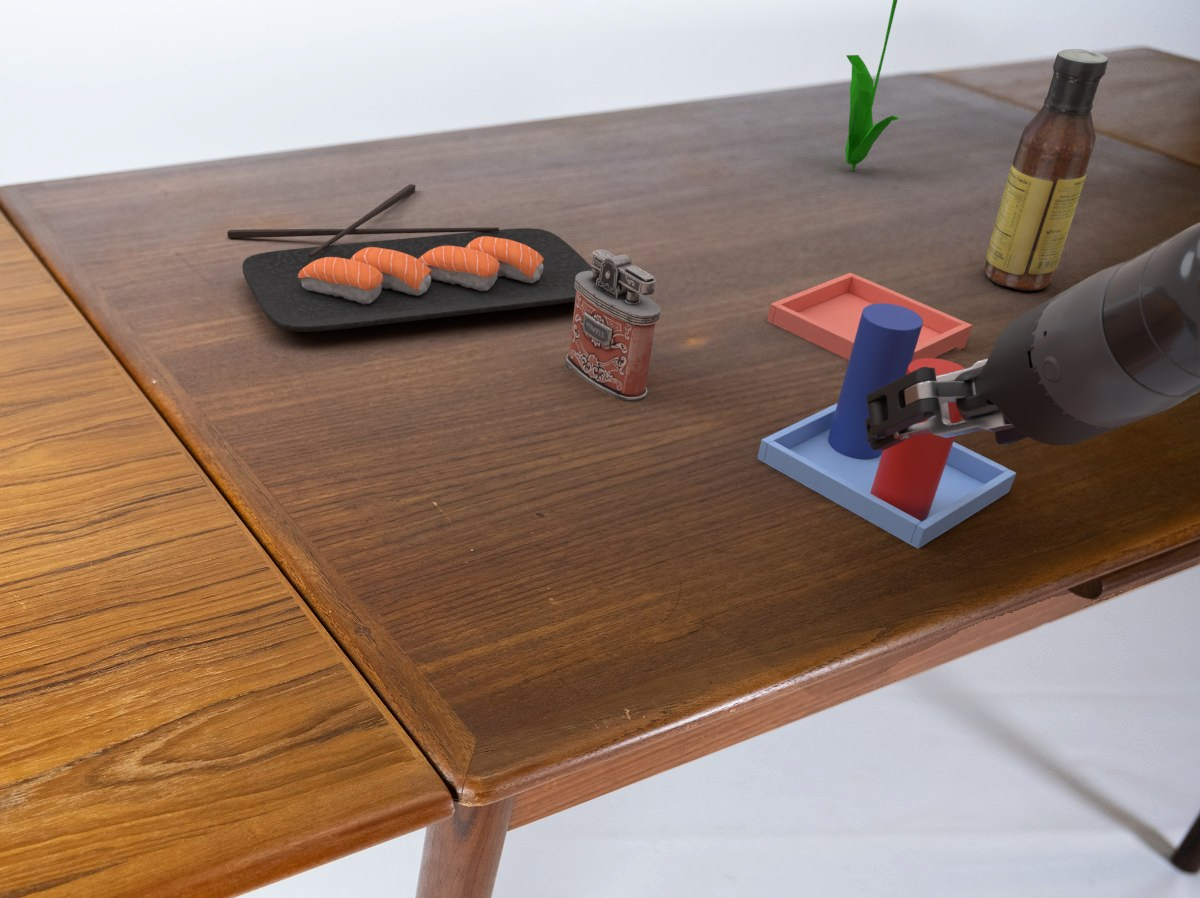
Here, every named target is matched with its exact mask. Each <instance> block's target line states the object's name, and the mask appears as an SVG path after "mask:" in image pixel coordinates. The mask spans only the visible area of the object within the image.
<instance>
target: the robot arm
mask: <svg viewBox="0 0 1200 898" xmlns="http://www.w3.org/2000/svg"><path fill="white" fill-rule="evenodd" d="M1198 393H1200V222H1197V223H1195V224H1193V225H1191V226H1189V227H1187V228H1185V229H1183V230H1181V231H1178V232H1177V233H1175V234H1174V235H1171V236H1170V237H1168V238H1166V239H1165V240H1163V241H1161V242H1158V244H1156V245H1154V246H1152V247H1150V248H1149V249H1147V250H1145V251H1143V252H1141V253H1139V254H1138V255H1136V256H1134V257H1132V258H1130V259H1129V260H1125V261H1123V262H1119V263H1117V264H1114V265H1111V266H1109V267H1107V268H1104V269H1102V270H1099V271H1097V272H1095V273H1094V274H1091V275H1090V276H1088V277H1086V278H1085V279H1083V280H1081V281H1079V282H1078V283H1076V284H1074V285H1072V286H1070V287H1069V288H1066V289H1065V290H1063V291H1061V292H1060V293H1058V294H1055V296H1053V297H1051V298H1049V299H1048V300H1046V301H1044V302H1042V303H1040V304H1039V305H1036V306H1035V307H1033V308H1032V309H1030V310H1028V311H1026V312H1024V313H1022V314H1021V315H1019V316H1017V317H1016V318H1014V319H1013V320H1012V321H1011V322H1009V323H1008V324H1007V326H1005V328H1004V329H1003V330H1002V331H1001V332H1000V334H999V336H998V337H997V340H996V341H995V343H994V345H993V347H992V349H991V351H990V354H989V356H988V358H984V359H980V360H977V361H975V362H974V363H973V364H972V366H970V367H967V368H966V369H963V370H959V371H955V372H951V373H947V374H943V375H939V376H936V372H935V368H928V367H921V368H919V369H917V370H915V371H913V372H911V373H909V374H907V375H905V376H903V377H901V378H899V379H897V380H895V381H893V382H891V383H889V384H888V385H886V386H884V387H882V388H880V389H878V390H876V391H874V392H872V393H870V394H868V395H867V396H866V399H867V404H868V409H869V418H868V419H866V420H865V426H866V434H867V443H868V444H870V445H871V448H872V449H873V450H886V449H888V448H890V447H892V446H894V445H896V444H898V443H900V442H902V441H905V440H907V439H910V438H911V437H914V436H919V435H923V434H928V433H932V434H933V435H936V436H939V437H943V438H949V437H953V436H955V437H957V436H962V435H968V434H971V433H975V432H979V431H985V430H986V431H989V432H991V433H992V432H993V433H994V436H995V437H994V438H995V441H996V443H997V445H1013V444H1014V443H1016V442H1019V441H1022V440H1024V439H1026V438H1029V439H1032V440H1033V441H1036V442H1038V443H1040V444H1045V445H1051V446H1070V445H1071V446H1072V445H1075V444H1079V443H1083V442H1086V441H1087V440H1091V439H1093V438H1095V437H1098V436H1101V435H1104V434H1107V433H1109V432H1112V431H1115V430H1117V429H1120V428H1122V427H1125V426H1128V425H1131V424H1133V423H1135V422H1139V421H1141V420H1144V419H1145V418H1149V417H1152V416H1155V415H1157V414H1160V413H1162V412H1165V411H1167V410H1169V409H1171V408H1174V407H1175V406H1177V405H1179V404H1181V403H1184V401H1186V400H1187V399H1189V398H1191V397H1192V396H1195V395H1196V394H1198ZM948 402H956V406H957V408H958V410H959V412H960V414H961V416H962V418H961V419H962V420H961V421H960V422H957V423H953V424H952V423H951V421H950V415H949V407H948ZM925 419H928V420H927V421H926V422H922V423H919V422H921V421H923V420H925ZM916 423H918V424H916Z"/></svg>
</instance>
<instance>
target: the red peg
mask: <svg viewBox="0 0 1200 898" xmlns="http://www.w3.org/2000/svg"><path fill="white" fill-rule="evenodd" d="M921 367H928V368H935V372H936V376H939V375H943V374H947V373H951V372H955V371H959V370H963V369H967V368H966V367H964V366H963V365H960V364H958V363H956V362H953V361H950V360H947V359H942V358H937V357H935V358H922V359H917V360H914V361H913V362H911V363H910V364H909V366H908V369H907V372H906V375H907V374H909V373H911V372H913V371H915V370H917V369H919V368H921ZM948 407H949V415H950V421H951V423H952V424H953V423H957V422H961V421H962V419H963V418H962V416H961V414H960V412H959V410H958V408H957V406H956V402H948ZM927 420H928V419H925V420H923V421H921V422H919V423H922V422H926V421H927ZM916 424H918V423H916ZM955 438H956V436H953V437H949V438H943V437H939V436H936V435H933V434H932V433H928V434H923V435H919V436H914V437H911V438H910V439H907V440H905V441H902V442H900V443H898V444H896V445H894V446H892V447H890V448H888V449H886V450H883V452H882V455H881V459H880V462H879V465H878V469H877V472H876V475H875V478H874V482H873V485H872V488H871V492H870V494H872V495H874V496H876V497H877V498H879V499H881V500H883V501H885V502H887V503H888V504H890V505H892V506H894V507H896V508H898V509H899V510H901V511H903V512H905V513H907V514H909V515H910V516H912V517H914V518H916V519H918V520H920V521H922V520H924V519H925V518H926V517H927V516H928V515H929V512H930V509H931V506H932V504H933V501H934V498H935V495H936V492H937V489H938V486H939V483H940V480H941V477H942V474H943V471H944V468H945V465H946V462H947V459H948V456H949V454H950V451H951V448H952V445H953V442H955Z"/></svg>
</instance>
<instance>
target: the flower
mask: <svg viewBox="0 0 1200 898" xmlns="http://www.w3.org/2000/svg"><path fill="white" fill-rule="evenodd" d="M897 4H898V0H892V3H891V9H890V14H889V17H888V24H887V29H886V33H885V39H884V43H883V49H882V52H881V56H880V60H879V64H878V68H877V71H876V72H877V73H876V76H875V79H874V80H873V77H872V75H871V73H870V72H869V70H868V67H867V66H866V63H865V61H863V59H862V58H861V56H860V55H859V54H847V55H846V58H847V59H848V61H849V63H850V65H851V79H850V87H849V105H850V106H849V116H848V117H849V119H848V135H847V140H846V143H845V147H844V148H845V149H844V152H845V163H847V164H849V165H851V170H850V171H851V172H855V171H856V170H855V169H856V166H857V165H858V164H860V163H862V162H863V161H864V159H866V158H867V156H868V154H869V152H870V151H871V149H872V147H873V145H874V143H875V142H876V141H877V140H878V138H879V137H880V136H881V134H882V133H883V131H884V130H885V129H886V128H887V127H888V126H889V125H890V123H891V122H893V121H896V120H899V117H898V116H897V115H895V116H894V115H891V116H887V117H886V118H884V119H881V120H879V121H878V122H875V123H874V122H873V120H874V119H873V110H872V109H873V105H874V101H875V96H876V92H877V88H878V84H879V80H880V75H881V71H882V67H883V62H884V58H885V54H886V50H887V45H888V41H889V37H890V34H891V33H890V32H891V28H892V24H893V21H894V16H895V12H896V8H897Z"/></svg>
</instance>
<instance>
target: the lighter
mask: <svg viewBox="0 0 1200 898" xmlns="http://www.w3.org/2000/svg"><path fill="white" fill-rule="evenodd" d="M590 265H591V266H592V271H584V272H580V273H578V274H577V275H576V277H575V285H574V287H575V289H576V299H575V302H574V309H573V310H574V311H573V316H572V326H571V334H570V343H569V351H568V353H567V354H566V357H565V363H564V369H565V370H566V371H569V370H572V371H573V372H574V373H575V374H576V375H578V376H579V377H580V378H582V379H583V380H584V381H585V382H587V383H588V384H590V385H591V386H593V387H594V388H597V390H600V391H601V392H604V394H607V395H609V396H611V397H613V398H615V399H617V400H618V401H619V400H620V401H621V402H627V403H635V402H636V403H637V402H640V401H643V400H645V399H646V397H647V396H648V395H647V394H648V389H647V387H646V386H647V385H646V384H647V379H648V373H649V368H650V367H649V366H650V360H651V355H652V349H653V348H652V347H653V341H654V336H655V335H654V334H655V329H656V323H658V322H659V320H660V316H661V315H660V314H661V306H659V304H657V302H656V301H654V300H653V299H651V298H650V297H649V296H652V295H654V293H655V287H656V279H655V278H654V276H653V275H652V274H650V273H648V272H647V271H645V270H644V269H641V268H640V267H639V266H636V265H634V264H633V262H632V259H631V258H630V256H629V255H627V254H619V255H614V254H612V253H611V252H609V251H608V250H605V249H596V250H593V251H592V255H591V262H590Z"/></svg>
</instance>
